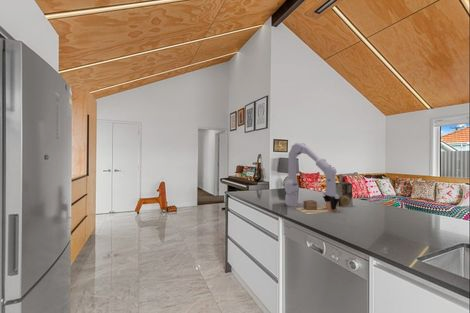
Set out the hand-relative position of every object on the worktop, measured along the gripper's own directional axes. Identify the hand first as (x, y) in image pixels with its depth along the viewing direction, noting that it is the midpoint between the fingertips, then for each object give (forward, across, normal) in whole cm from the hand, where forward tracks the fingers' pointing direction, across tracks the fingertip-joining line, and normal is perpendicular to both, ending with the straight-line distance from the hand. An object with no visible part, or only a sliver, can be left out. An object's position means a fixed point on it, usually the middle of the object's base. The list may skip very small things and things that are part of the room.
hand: (331, 208), depth 152 cm
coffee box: (+2, +8, -14) cm, 16 cm away
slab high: (-2, +6, +11) cm, 13 cm away
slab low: (+1, +6, +11) cm, 13 cm away
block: (+1, 0, 0) cm, 1 cm away
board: (+2, +4, +8) cm, 9 cm away
